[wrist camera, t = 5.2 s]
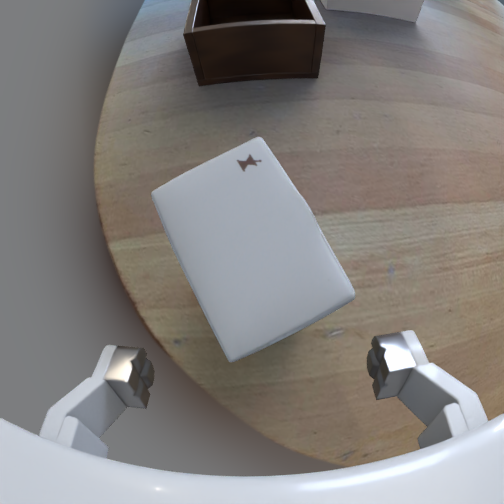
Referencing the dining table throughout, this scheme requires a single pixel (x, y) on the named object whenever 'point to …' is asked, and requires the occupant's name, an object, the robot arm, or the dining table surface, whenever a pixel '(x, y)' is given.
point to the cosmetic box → (250, 249)
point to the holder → (254, 39)
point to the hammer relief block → (379, 7)
